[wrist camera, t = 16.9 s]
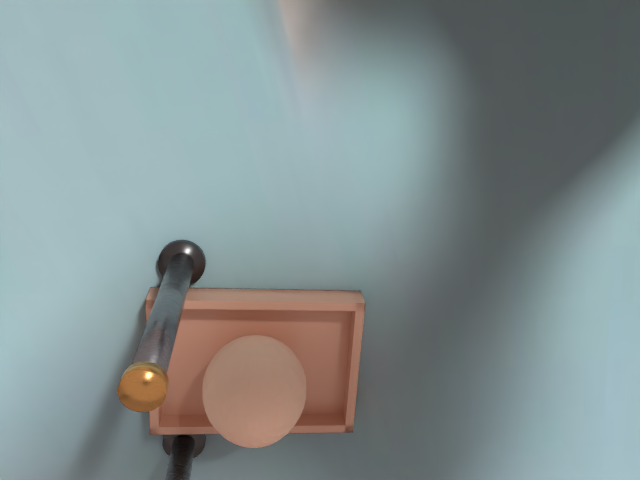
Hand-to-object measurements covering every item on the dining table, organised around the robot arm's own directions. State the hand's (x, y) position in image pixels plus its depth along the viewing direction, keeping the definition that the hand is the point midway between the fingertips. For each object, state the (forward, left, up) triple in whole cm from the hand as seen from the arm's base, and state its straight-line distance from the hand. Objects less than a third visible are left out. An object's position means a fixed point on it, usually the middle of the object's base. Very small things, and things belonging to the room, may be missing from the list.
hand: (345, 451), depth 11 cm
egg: (+1, +14, -28) cm, 32 cm away
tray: (+1, +14, -29) cm, 32 cm away
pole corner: (+6, +7, -29) cm, 30 cm away
